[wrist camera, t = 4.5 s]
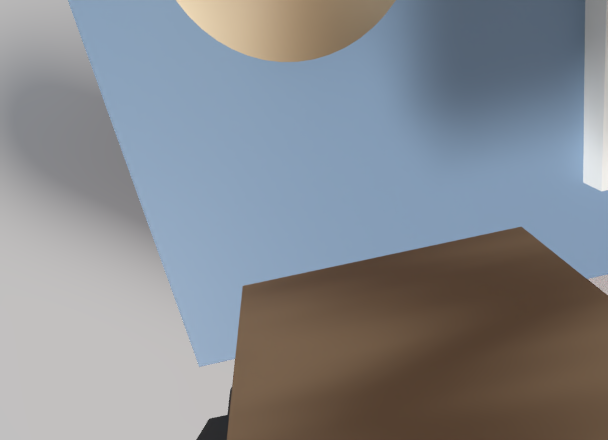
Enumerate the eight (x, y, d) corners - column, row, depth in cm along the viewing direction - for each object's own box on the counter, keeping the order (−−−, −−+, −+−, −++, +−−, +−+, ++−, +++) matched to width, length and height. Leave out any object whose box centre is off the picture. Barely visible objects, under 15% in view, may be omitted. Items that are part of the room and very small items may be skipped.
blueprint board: (871, -296, 14) (976, -351, 12) (780, 216, 20) (839, 238, 18) (43, -110, 14) (6, -134, 12) (202, 347, 20) (196, 384, 18)
